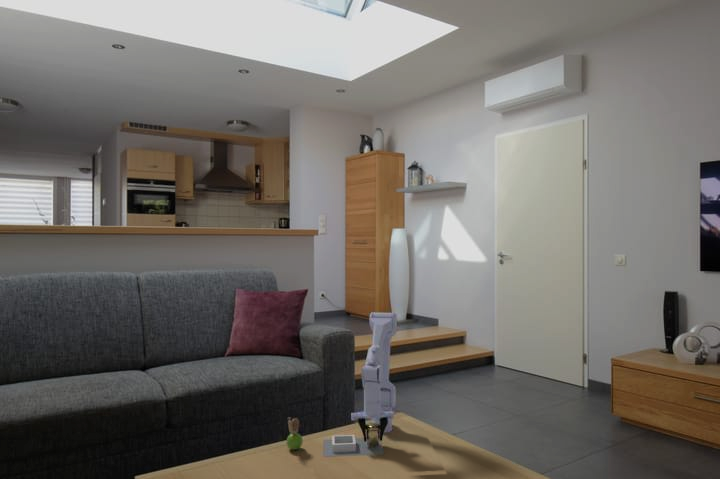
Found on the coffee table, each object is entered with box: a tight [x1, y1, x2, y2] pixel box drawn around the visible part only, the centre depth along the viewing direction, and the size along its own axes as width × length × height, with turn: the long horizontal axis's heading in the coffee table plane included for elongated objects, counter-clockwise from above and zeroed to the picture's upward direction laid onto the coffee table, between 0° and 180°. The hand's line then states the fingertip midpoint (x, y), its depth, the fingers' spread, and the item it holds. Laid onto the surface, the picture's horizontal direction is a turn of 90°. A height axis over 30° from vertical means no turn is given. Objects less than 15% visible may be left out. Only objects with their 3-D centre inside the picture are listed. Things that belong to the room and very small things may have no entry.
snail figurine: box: [286, 417, 304, 451], centre depth 170 cm, size 5×6×12 cm
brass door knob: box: [366, 422, 380, 446], centre depth 170 cm, size 5×5×6 cm
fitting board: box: [322, 434, 385, 458], centre depth 169 cm, size 14×20×4 cm
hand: (372, 440), depth 170 cm, fingers closed on brass door knob, 5 cm apart
